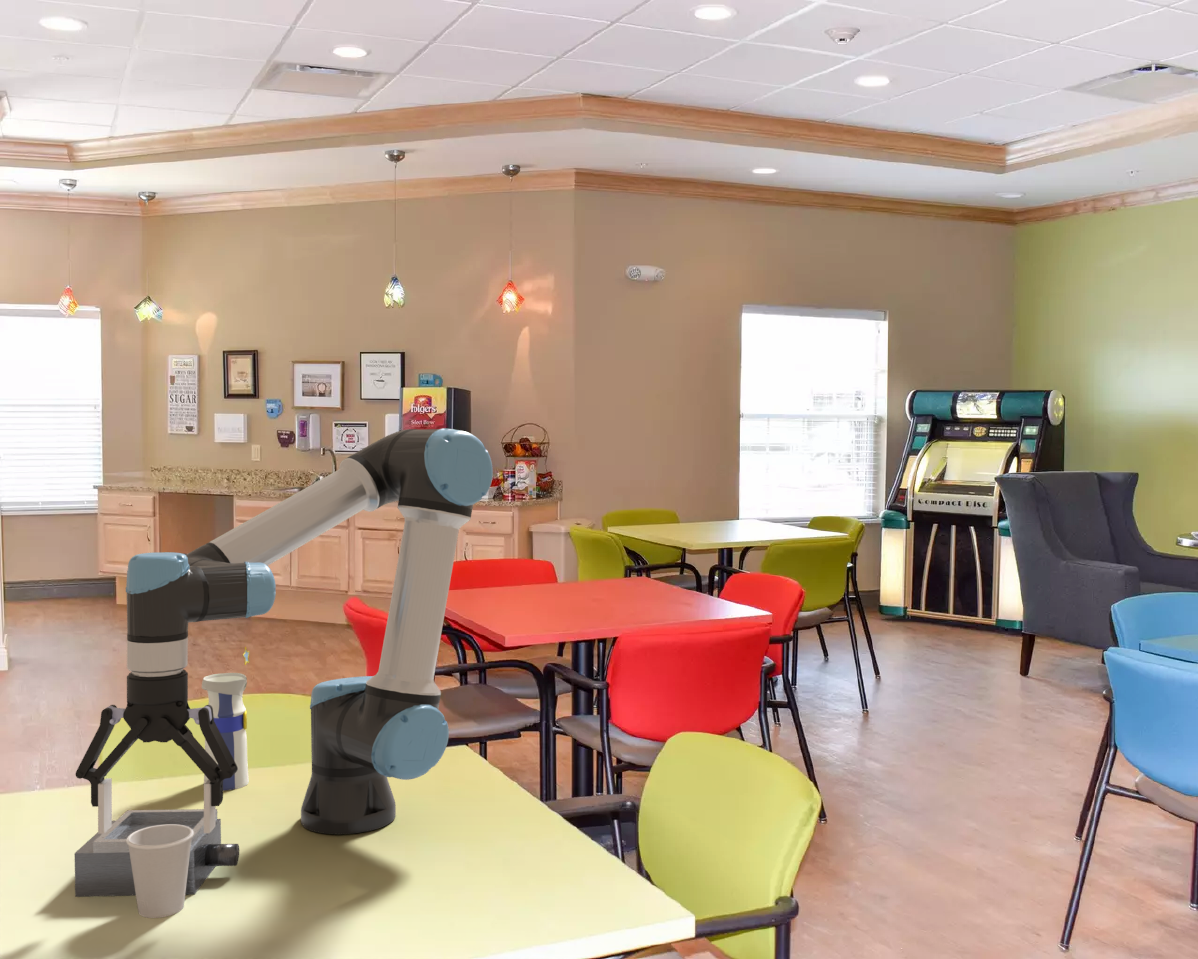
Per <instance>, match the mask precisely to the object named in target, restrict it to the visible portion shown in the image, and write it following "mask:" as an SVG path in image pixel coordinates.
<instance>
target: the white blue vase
mask: <svg viewBox="0 0 1198 959" xmlns="http://www.w3.org/2000/svg"><path fill="white" fill-rule="evenodd" d="M249 656H250V650H247V646H245V647H244V652H243V654H242V657H243V658H244V666H246V665H247V664H250V659H249V658H250V657H249ZM247 684H248V679H247V676H246V675H245V674H243V673H240V672H239V673H238V672H225V673H223V672H222V673H214V674H209V675H207V676H204V677H203V678H202V682H201V689H202V690H204V691H206V693H207V696H208V704H207V705H211V706H212V708H213V716H214V722H215V724H216V726H217V728H218V730H219V732H220V734H221V736H222V738H223V740H224V742H225V743H226V745H227V747H228V749H229V751H230V753H231V755H232V757H233V759H234V761H235V763H236V765H237V767H238V770H237V772H236V773H235V774H234V775H233V776H232V777H231V778H227V779H224V780H223V792H224V791H233V790H237V789H241V788H243V787H246V786H247V785H248V784H249V782H250V781H249V766H248V738H247V737H248V736H247V729H248V721H247V720H248V718H247V717H248V716H247V715H248V713H247V708H246V706H245V705H244V702H243V701H244V700H243V698H244V697H243V693H244V692H245V690H246V687H247ZM204 749H205V750H206V752H207V753H208V754H209V755H210V756H211V757H212V758H213V760H214V761H215V762H216V763H217V761H216V759H215V757H214V755H213V753H212V751H211V749H210V747H209V745H208V743H207V741H206V739H205V738H204ZM217 764H218V763H217ZM203 774H204V773H203ZM203 776H204V777H203V785H204V784H205V783H206V782H207V781H208V780H209V779H208V778H207V777H206V776H205V774H204V775H203Z"/></svg>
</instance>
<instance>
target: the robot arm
mask: <svg viewBox="0 0 1198 959" xmlns="http://www.w3.org/2000/svg"><path fill="white" fill-rule="evenodd" d="M493 470H494V469H493V463H492V458H491V456H490V452H489V451H488V449H486V447H485V446H484V443H483V442H482V441H481V440H480V439H479V437H477V436H475V435H474V434H472V433H470V432H468V431H464V430H461V429H460V430H459V429H454V428H445V427H444V428H440V429H439V428H435V429H434V428H431V429H430V428H429V429H428V428H427V429H424V428H423V429H417V428H416V429H415V428H411V429H410V428H408V429H403V430H402V429H401V430H398V431H396V432H393V433H391V434H388V435H386V436H384V437H382V438H380V439H378V440H377V441H374V442H373V443H371V444H369V445H367V446H366V447H363V448H361V449H360V450H359V451H357V452H355V453H353V454H351V455H349V456H348V457H345V458H344V459H342V461H341V462H340V464H339V467H338V469H337V470H336V471H334V472H332V473H330V474H329V475H327V476H325V477H323V478H320V480H318V481H316V482H314V483H312V484H310V485H309V486H307V487H305V488H303V489H302V490H300V491H298V492H297V493H294V494H293V495H291V496H289V497H287V498H285V499H284V500H281V501H280V502H278V503H277V504H275V505H273V506H272V507H269V508H268V509H266V510H264V511H263V512H260V513H259V514H257V515H256V516H254V517H251V518H250V519H248V520H246V521H245V522H243V523H240V525H238V526H236V527H233V528H232V529H230V530H228V531H227V532H225V533H223V534H222V535H219V536H218V537H216V538H214V539H212V540H210V541H209V542H207V543H205V544H203V545H201V546H199V547H197V548H196V549H194V550H192V551H190V552H188V553H182V552H170V551H169V552H168V551H167V552H144V553H138V554H135V555H134V556H131V558H130V559H129V561H128V564H127V572H126V587H125V593H126V621H127V622H126V626H127V628H126V629H127V630H126V631H127V633H126V669H127V670H128V671H130V672H128V675H126V707H125V708H123V707H118V706H117V705H116V704H110V705H108V706H107V707H105V708H103V710H102V711H101V712H100V713H101V714H100V720H99V721H100V722H99V727H98V729H97V730H96V732H95V734H94V737H92V740H91V742H90V744H89V745H88V747H87V750H86V751H85V753H84V755H83V757H82V759H81V761H80V764H79V765H78V767H77V770H76V771H75V777H76V778H77V779H79V780H82V779H84V780H87V781H88V782H89V783H90V804H91V806H92V808H95V807H96V808H97V822H98V823H97V832H98V834H104V833H105V832H106V831H108V830H109V829H110V828H111V827H112V821H113V819H112V818H113V814H112V813H113V809H112V808H113V806H112V805H113V804H112V803H113V802H112V801H113V800H112V799H113V796H112V794H113V791H112V789H113V787H112V786H113V785H112V782H113V778H111V777H110V778H109V777H108V778H107V776H108V773H109V772H110V771H111V770H112V769H113V768H114V767H115V765H116V764H117V763H118V762H119V761H120V760H121V758H122V757H124V755H125V754H126V753H127V752H128V750H129V749H130V748H131V747H132V746H133V745H134V744H135V743H136V742H137V741H138V739H139V740H140V741H142V743H151V742H157V743H168V742H170V741H173V742H174V743H175V745H177V746H178V747H179V748H181V749H182V751H184V753H185V754H186V755H187V756H188V757H189V758H190V760H192V762H193V763H194V764H195V765H196V766H197V767H198V768H199V770H200V771H201V772H202V773H203V774H205V776H206V777H207V778H208V779H209V780H208V781H207V782H206V783H205V784H204V783H203V809H204V833H210V832H211V831H212V830H213V829H214V827H215V813H216V809H217V808H216V807H219V806H220V805H221V804H222V803H223V800H224V791H223V780H224V779H227V778H231V777H232V776H233V775H234V774H235V773H236V772H237V770H238V767H237V765H236V763H235V761H234V759H233V757H232V755H231V753H230V751H229V749H228V747H227V745H226V743H225V742H224V740H223V738H222V736H221V734H220V732H219V730H218V728H217V726H216V724H215V722H214V716H213V708H212V706H211V705H208V704H206V705H204V706H203V707H197V708H195V707H194V708H190V705H189V690H188V688H189V686H188V685H189V673H188V671H187V670H185V668H186V667H188V666H189V665H188V663H189V662H188V660H189V659H188V657H189V655H188V654H189V652H188V651H189V649H188V648H189V631H188V630H189V623H198V622H199V623H200V622H204V621H207V622H208V621H218V620H228V619H230V620H231V619H240V618H244V619H248V618H249V617H255V616H261V615H265V614H267V613H269V611H270V610H272V608H273V606H274V604H275V600H276V595H277V594H276V593H277V592H276V591H277V590H276V588H277V585H276V580H275V576H274V573H273V571H272V569H271V568H270V567H269V566H270V565H271V564H273V563H275V562H277V561H278V560H280V559H282V558H284V557H286V556H287V555H289V554H290V553H292V552H294V551H295V550H298V548H300V547H302V546H304V545H306V544H307V543H309V542H311V541H312V540H315V539H316V538H318V537H320V536H321V535H323V534H324V533H326V532H328V531H329V530H331V529H334V527H336V526H338V525H340V524H341V523H343V522H345V521H347V520H348V519H350V518H352V517H353V516H355V515H356V514H358V513H360V512H362V511H363V510H364V511H366V512H369V513H370V512H374V511H376V510H378V509H380V508H381V507H383V506H384V505H385V506H386V505H388V504H390V503H394V502H397V509H398V511H399V512H400V514H401V515H402V518H404V524H403V530H402V536H401V542H400V548H399V553H398V558H397V564H396V565H397V566H396V569H395V570H396V571H395V576H394V581H393V587H392V591H391V593H392V594H391V598H390V605H389V609H388V615H387V620H386V626H385V631H384V637H383V644H382V648H381V655H380V659H379V660H380V661H379V667H378V671H377V672H376V674H375V675H372V676H371V675H370V676H369V675H367V676H366V675H363V676H351V677H344V678H336V679H330V680H326V681H322V682H319V683H318V684H316V685H315V686H314V687H313V688H312V691H311V696H310V705H309V709H310V736H311V737H310V740H311V742H310V743H311V746H310V747H311V750H310V751H311V776H310V779H309V782H308V785H307V788H306V792H305V796H304V798H303V801H302V805H301V807H300V824H301V825H302V827H304V829H306V830H308V831H311V832H315V833H319V834H325V835H353V834H360V833H367V832H370V831H374V830H378V829H380V828H383V827H385V826H387V825H389V824H391V823H392V822H393V821H394V820H395V818H396V816H397V815H396V814H397V813H396V809H397V807H396V801H395V800H396V799H395V797H394V794H393V791H392V788H391V785H390V782H389V780H388V778H393V779H394V778H395V779H398V780H402V781H403V780H405V781H409V780H413V779H417V778H420V777H422V776H424V775H425V774H427V773H428V772H429V771H430V770H431V769H432V768H433V767H435V766H436V765H437V764H438V763H439V762H440V760H441V759H442V757H443V755H444V754H445V751H446V748H447V745H448V744H449V734H450V732H449V731H450V730H449V729H450V728H449V724H448V721H446V719H445V716H444V714H443V713H442V712H441V711H440V709H439V707H440V701H441V695H442V691H441V689H440V688H439V686H438V685H437V684H436V682H435V679H434V678H435V672H436V667H437V666H436V665H437V660H438V655H439V649H440V644H441V637H442V633H443V632H442V631H443V624H444V619H445V614H446V609H447V602H448V597H449V591H450V585H451V579H452V578H451V577H452V574H453V568H454V560H455V556H456V550H457V543H458V538H459V533H460V532H459V531H460V529H461V528H462V527H463V526H464V525H465V524H467V523H468V522H470V521H471V520H472V513H473V508H474V505H475V504H476V503H478V502H480V501H482V499H483V497H485V496H486V495H487V493H488V492H489V490H490V488H491V486H492V481H493V475H494V474H493V473H494V472H493ZM122 718H123V720H124V721H125V722H126V724H127V726H128V727H129V728H130V729H129V731H128V732H127V733H126V734H125V735H124V737H123V738H122V739H121V741H120V742H118V744H116V746H115V748H114V749H113V750H112V751H111V752H110V753H109V754H108V756H107V757H106V758H105V759H104V761H102V762H101V763H100V765H99V766H98V767H97V768H95V765H96V763H97V761H98V760H99V757H100V755H101V753H102V751H103V749H104V747H105V746H106V744H107V741H108V740H109V738H110V735H111V734H112V732H113V731H114V728H115V726H116V725H117V724H118V723H119V722H121V720H122ZM190 719H193V721H194V723H195V724H196V725H199V728H200V731H201V734H202V735H203V737H204V740H205V739H206V741H207V743H208V745H209V747H210V749H211V751H212V753H213V755H214V757H215V759H216V761H217V763H218V764H217V763H216V762H215V761H214V760H213V758H212V757H211V756H210V755H209V754H208V753H207V752H206V750H205V747H203V746H202V745H201V743H200V742H199V740H197V739H196V738H195V737H194V735H193V732H192V731H191V729H189V727H188V726H187V725H186V724H187V723H188V721H190Z"/></svg>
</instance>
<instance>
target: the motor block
mask: <svg viewBox="0 0 1198 959" xmlns="http://www.w3.org/2000/svg"><path fill="white" fill-rule="evenodd" d="M221 820H222V819H221V818H218V808H216V813H215V827H214V829H213V830H212V831H211V832H210V833H204V808H202V809H201V808H200V809H199V808H197V809H195V808H194V809H189V808H188V809H187V808H186V809H136V810H135V809H134V810H133V809H129V810H126V811H125V812H124V813H123V814H122V815H121V816H120V817H119V818H117V820H112V827H111V828H110V829H109V830H108V831H106V832H105V833H104V834H98V831H97V832H96V833H95V834H94V835H93V836H91V838H89V840H87V841H86V842H85V843H84V844H83V845H82V846H81V847H80V848H79V849H78V850H76V851H75V852H74V890H75V891H74V893H75V894H74V896H75V898H76V897H78V898H80V897H82V898H83V897H122V896H123V897H126V896H127V897H129V896H130V897H132V896H135V897H136V892H135V886H134V879H133V872H132V866H131V859H130V852H129V846H128V844H127V843H126V839H127V838H128V836H129V835H131V834H132V833H133V832H135V831H138V830H140V829H143V828H147V827H151V826H156V825H166V824H177V825H184V826H187V827H189V828H191V829H192V830H193V831H194V835H193V837H192V839H191V848H190V857H189V866H188V875H187V883H186V892H185V896H186V895H195V894H197V892H198V891H199V889H200V888H201V886H202V885H203V884H204V882H206V880H207V879H208V877H209V876H210V874H211V873H212V872H213V870H214V869H215V868H216V867H232V866H233V867H236V866H237V865H238V863H239V859H240V846H239V843H222V826H221V824H222V822H221Z"/></svg>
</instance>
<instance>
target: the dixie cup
mask: <svg viewBox="0 0 1198 959" xmlns="http://www.w3.org/2000/svg"><path fill="white" fill-rule="evenodd" d="M193 835H194V831H193V830H192V829H191V828H189V827H187V826H184V825H177V824H166V825H156V826H151V827H147V828H143V829H140V830H138V831H135V832H133V833H132V834H131V835H129V836H128V838H127V839H126V843H127V844H128V846H129V852H130V859H131V866H132V872H133V879H134V886H135V892H136V896H135V898H136V905H137V906H136V907H137V911H138V915H139V916H141V917H143V918H149V919H156V918H165V917H170V916H172V915H175V914H177V913H179V912H181V911H183V909H184V907H185V900H186V895H185V892H186V883H187V875H188V866H189V857H190V848H191V839H192V837H193Z"/></svg>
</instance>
